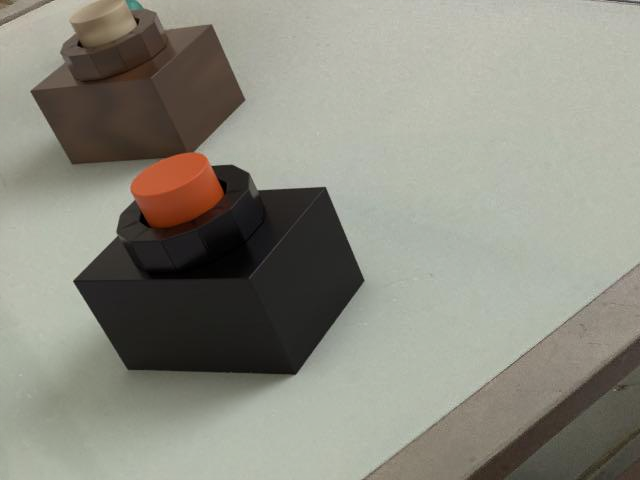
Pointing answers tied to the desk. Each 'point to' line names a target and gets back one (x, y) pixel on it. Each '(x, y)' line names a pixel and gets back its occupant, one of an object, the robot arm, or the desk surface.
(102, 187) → the desk surface
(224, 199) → the front block
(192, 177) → the front button
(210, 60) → the back block
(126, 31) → the back button
